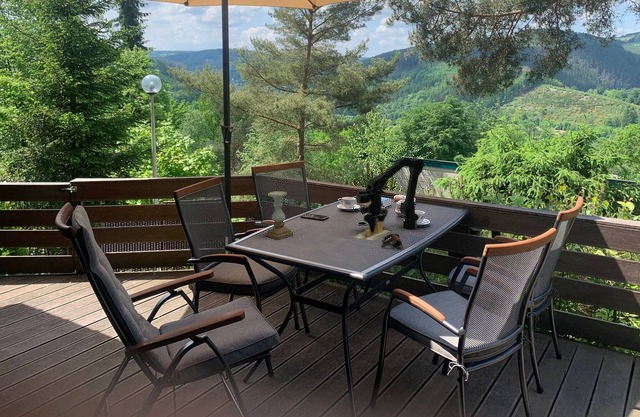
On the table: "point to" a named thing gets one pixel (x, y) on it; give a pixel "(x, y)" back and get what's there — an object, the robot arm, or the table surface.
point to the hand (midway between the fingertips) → (376, 230)
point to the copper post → (367, 232)
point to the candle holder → (278, 218)
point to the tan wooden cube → (378, 227)
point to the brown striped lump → (392, 240)
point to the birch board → (371, 235)
